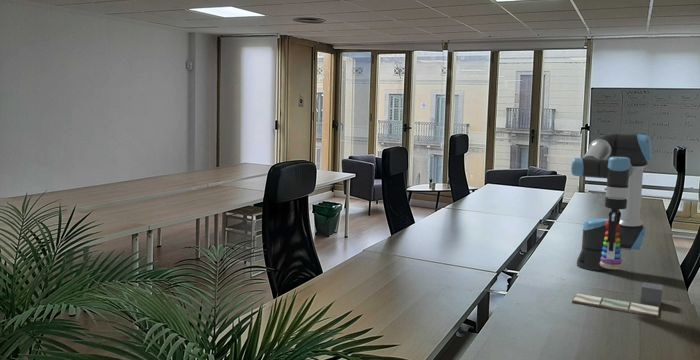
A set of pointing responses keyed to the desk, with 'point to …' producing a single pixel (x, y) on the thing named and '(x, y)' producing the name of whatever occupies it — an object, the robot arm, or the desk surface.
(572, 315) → the desk surface
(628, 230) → the robot arm
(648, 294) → the grey plain cubic block
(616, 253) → the stacking toy
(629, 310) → the board
